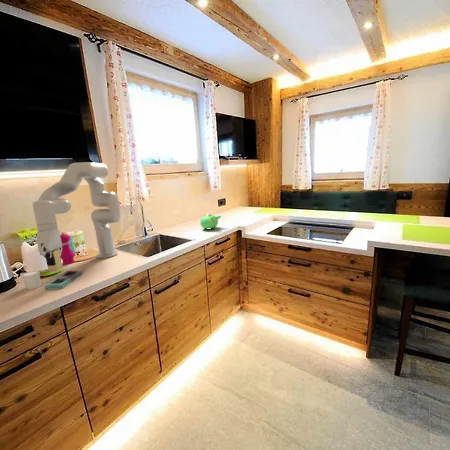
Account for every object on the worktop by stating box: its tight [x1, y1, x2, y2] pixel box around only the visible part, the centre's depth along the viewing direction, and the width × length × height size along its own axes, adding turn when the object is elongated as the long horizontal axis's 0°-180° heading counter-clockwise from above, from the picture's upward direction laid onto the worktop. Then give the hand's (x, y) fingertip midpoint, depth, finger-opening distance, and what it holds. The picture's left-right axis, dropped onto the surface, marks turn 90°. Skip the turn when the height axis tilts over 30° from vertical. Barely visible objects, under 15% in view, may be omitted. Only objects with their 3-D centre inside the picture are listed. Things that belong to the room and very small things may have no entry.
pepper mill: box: [60, 231, 76, 265], centre depth 144 cm, size 7×7×20 cm
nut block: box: [47, 249, 63, 273], centre depth 112 cm, size 4×4×10 cm
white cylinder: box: [21, 270, 42, 290], centre depth 114 cm, size 7×7×7 cm
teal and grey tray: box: [44, 269, 83, 290], centre depth 120 cm, size 17×8×2 cm, turn 2°
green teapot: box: [199, 213, 222, 230], centre depth 219 cm, size 18×17×15 cm
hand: (54, 263), depth 112 cm, fingers closed on nut block, 4 cm apart
